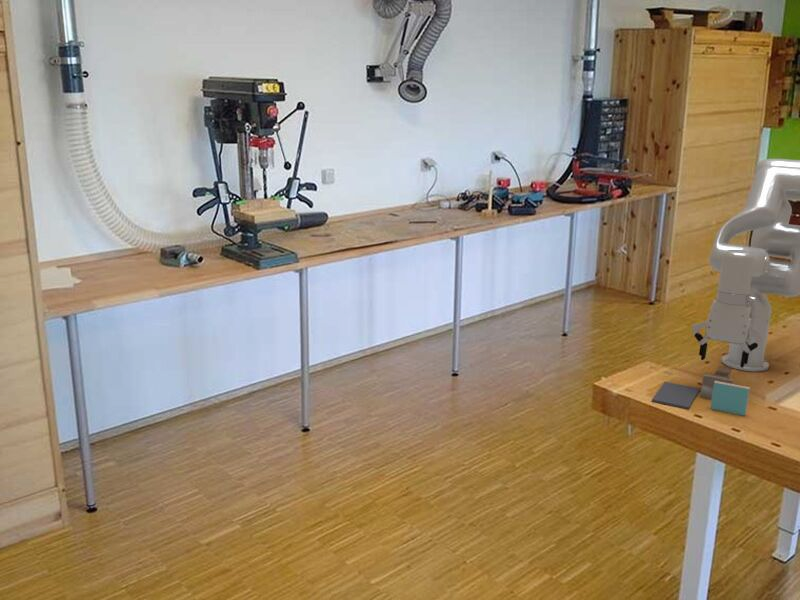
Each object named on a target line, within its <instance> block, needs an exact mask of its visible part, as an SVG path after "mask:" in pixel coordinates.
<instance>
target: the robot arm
mask: <svg viewBox="0 0 800 600" xmlns="http://www.w3.org/2000/svg"><path fill="white" fill-rule="evenodd" d="M788 199H792V200H800V159H787V158H766V159H763V160H760V161H758V163H757V164H756V167H755V172H754V179H753V182H752V185H751V187H750V190H749V193H748V196H747V199H746V202H745V205H744V209H743V210H742V211H741V212H739V213H736V214H735V215H734V216H732V217H731V218H730V219H729V220H727V221H726V222H725V223H724V224H723V225H722V226H721V227H720V229H719V230H718V231H717V233H716V236H715V239H714V241H713V244H712V248H711V251H710V254H709V264H710V265H709V266H710V268H712V269H713V270H714V271H717V272H719V277H718V278H719V279H718V285H717V286H718V287H717V291H716V299H714V300H713V301H712V303H711V307H710V309H709V312H708V317H707V320H706V321H702V322H698V323H696V324H693V325H692V326H691V330H692V333H693V335H694V337H695V339H696V341H697V342H698V343H699V345H700V346H699V352H698V356H700V360H701V361H704V360H705V358H706V357H707V350H708V343H707V342H708V341H710V340H711V341H716V342H722V343H729V347H728V354H724V355H722V357H721V362H722V363H723V364H724V365H725V366H726V367H728V368H731V369H735V370H739V371H744V372H753V373H754V372H758V373H759V372H765V371H767V370H768V369H769V367H770V363H769V362H768V361H767V360H765V355H766V347H767V341H768V337H769V336H768V335H769V328H770V323H771V316H772V304H771V302H770V300H769V298H768V297H767V295H766V294H770V295H777V296H782V297H790V298H795V297H798V296H799V295H800V225H798V224H789V223H790V219H791V215H792V212H793V210H792V205H791V203H790V201H789V200H788ZM751 231H752V234H751V238H750V246H746V245H740V244H732V243H729V242H730V241H731V240H733V238H735V237H737V236H738V235H742V234H744V233H747V232H751ZM770 257H774V258H781V259H787V260H790V261H784V260H777V259H774V258H772V259H771V258H770ZM704 328H705V332H704V333H705V335H704V336H703V335H702V334H701V332H700V330H701V329H704Z"/></svg>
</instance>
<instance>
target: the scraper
mask: <svg viewBox="0 0 800 600" xmlns="http://www.w3.org/2000/svg"><path fill="white" fill-rule="evenodd" d="M731 371H732V368H731V367H729V366H722V365H719V366H718V367H717V370H716V371H715V372H714V375H710V374H705V373H704V374H703V377H702V384H701V388H700V395H699V397H700V398H702V397H704V398H703V399H707V400H712V394H713V387H714V382H715V381H720V382H725V383H730V384H734V379H733V378H730V377H731Z"/></svg>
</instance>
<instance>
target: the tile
mask: <svg viewBox="0 0 800 600" xmlns="http://www.w3.org/2000/svg"><path fill="white" fill-rule="evenodd" d="M750 388H751V387H750V386H744V385H740V384H734V383H733V384H730V383H725V382H720V381H715V382H714V387H713V394H712V399H711V402H710V409H711V410H716V411H720V412H725V413H730V414H734V415H740V416H744V417H745V416H746V413H747V408H748V402H749V395H750ZM710 409H709V410H710Z"/></svg>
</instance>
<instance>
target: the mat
mask: <svg viewBox="0 0 800 600" xmlns="http://www.w3.org/2000/svg"><path fill="white" fill-rule="evenodd" d="M699 390H700V391H701V388H699V387H695V386H688V385H685V384H679V383H674V382H671V381H670V382H669V381H663V383H662V385H661V386H660V387H659V389H658V390H657V391H656V393H655V395H654V396H653V398H652V399H651V402H653V403H656V404H661V405H666V406H670V407H675V408H680V409H684V410H690V408H691V406H692V405H693V403H694V401H695V399H696V398H697V396H698V394H699V392H700V391H699Z"/></svg>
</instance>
